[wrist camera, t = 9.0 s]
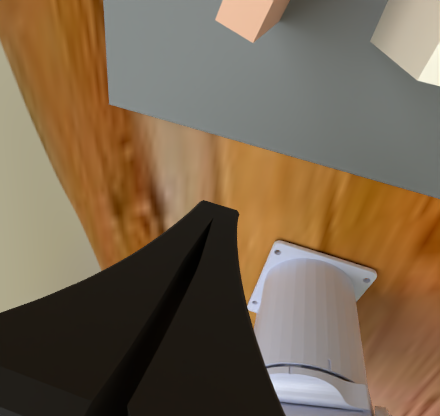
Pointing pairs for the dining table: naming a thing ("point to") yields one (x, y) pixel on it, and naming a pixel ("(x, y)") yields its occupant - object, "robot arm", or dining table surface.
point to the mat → (280, 84)
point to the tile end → (251, 16)
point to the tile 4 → (411, 37)
